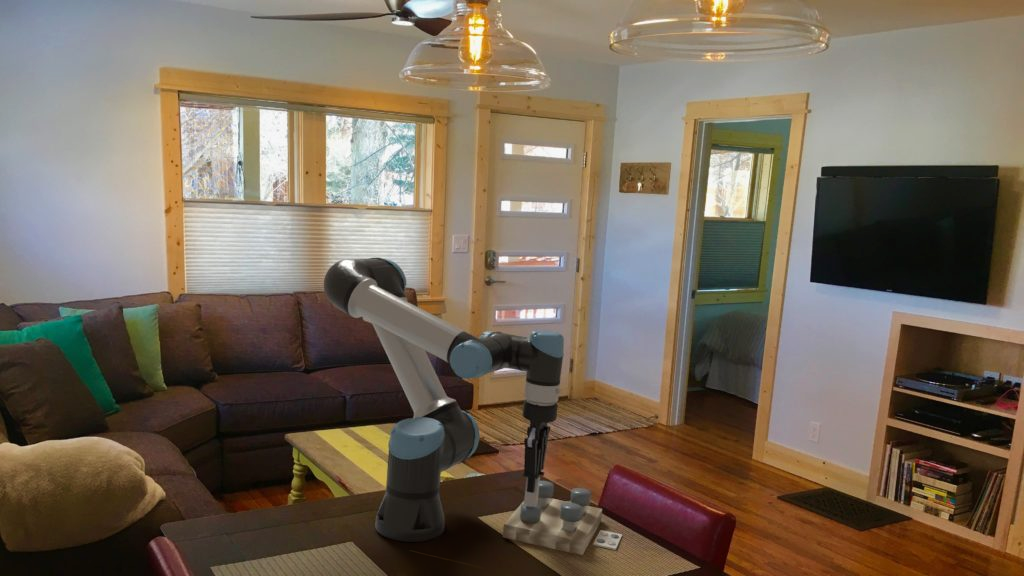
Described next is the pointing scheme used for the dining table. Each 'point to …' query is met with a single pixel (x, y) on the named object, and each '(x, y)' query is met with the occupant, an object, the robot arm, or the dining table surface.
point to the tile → (607, 540)
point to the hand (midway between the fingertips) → (530, 504)
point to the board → (554, 528)
